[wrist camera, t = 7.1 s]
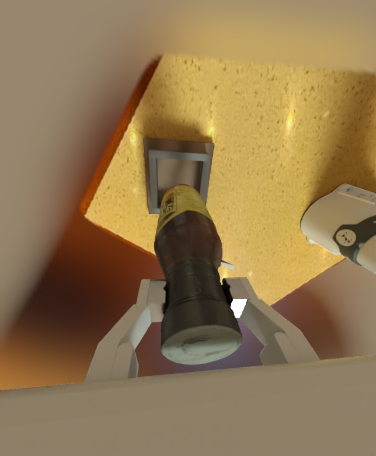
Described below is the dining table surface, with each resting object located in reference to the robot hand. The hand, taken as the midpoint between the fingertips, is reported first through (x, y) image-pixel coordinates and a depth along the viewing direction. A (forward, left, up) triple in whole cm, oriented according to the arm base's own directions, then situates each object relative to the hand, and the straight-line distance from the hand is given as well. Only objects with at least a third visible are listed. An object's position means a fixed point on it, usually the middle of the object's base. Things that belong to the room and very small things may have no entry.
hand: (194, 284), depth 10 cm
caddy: (0, 0, -29) cm, 29 cm away
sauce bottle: (0, +1, -17) cm, 17 cm away
